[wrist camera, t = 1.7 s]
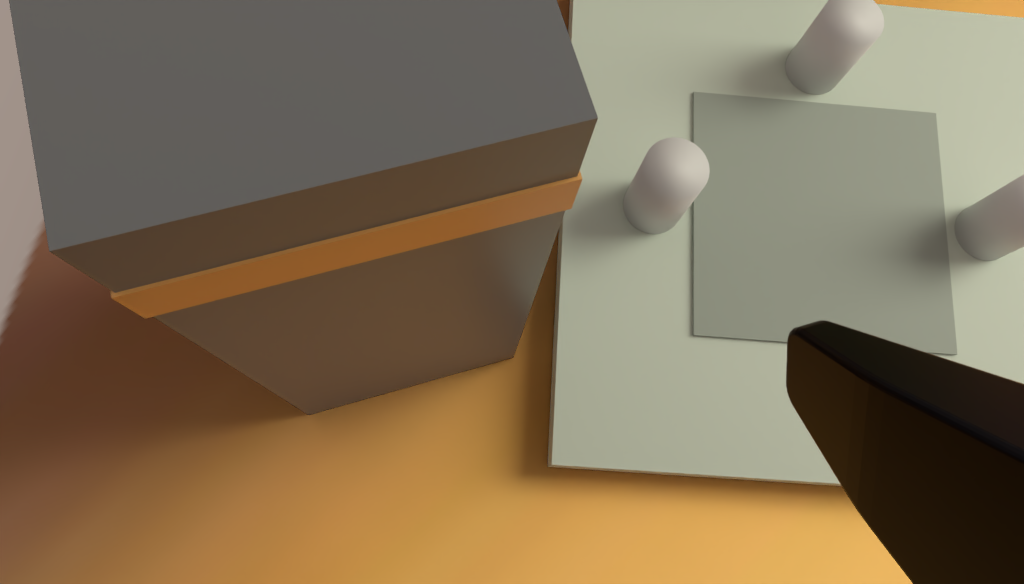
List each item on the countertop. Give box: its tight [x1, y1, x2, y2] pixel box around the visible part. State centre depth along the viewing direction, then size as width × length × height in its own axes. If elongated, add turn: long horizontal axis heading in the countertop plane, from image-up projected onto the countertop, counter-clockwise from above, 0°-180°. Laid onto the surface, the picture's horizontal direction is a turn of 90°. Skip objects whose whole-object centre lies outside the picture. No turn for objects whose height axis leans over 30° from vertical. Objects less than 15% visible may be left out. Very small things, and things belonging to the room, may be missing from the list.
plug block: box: [9, 0, 598, 415], centre depth 15 cm, size 6×6×14 cm
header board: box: [547, 0, 1024, 486], centre depth 21 cm, size 14×14×4 cm
